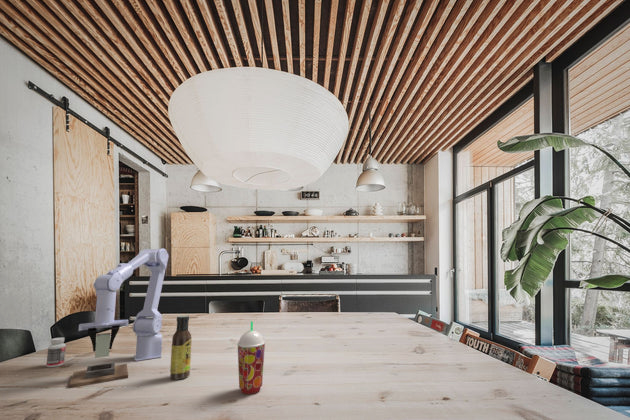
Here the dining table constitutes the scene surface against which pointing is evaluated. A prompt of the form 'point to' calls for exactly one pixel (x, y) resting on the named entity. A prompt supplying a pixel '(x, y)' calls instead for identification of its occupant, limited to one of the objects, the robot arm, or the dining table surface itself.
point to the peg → (102, 345)
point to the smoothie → (251, 361)
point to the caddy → (99, 374)
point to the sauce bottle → (181, 349)
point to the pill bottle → (56, 353)
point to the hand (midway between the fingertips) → (102, 349)
